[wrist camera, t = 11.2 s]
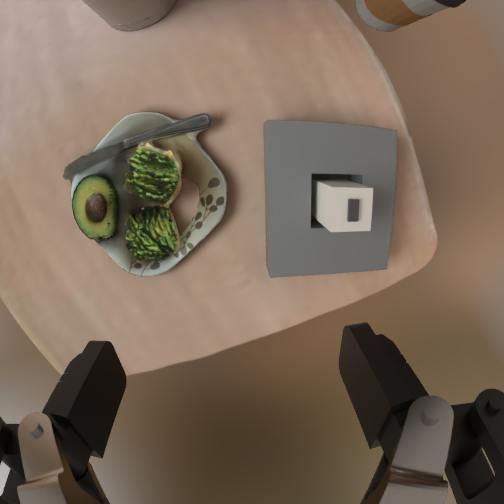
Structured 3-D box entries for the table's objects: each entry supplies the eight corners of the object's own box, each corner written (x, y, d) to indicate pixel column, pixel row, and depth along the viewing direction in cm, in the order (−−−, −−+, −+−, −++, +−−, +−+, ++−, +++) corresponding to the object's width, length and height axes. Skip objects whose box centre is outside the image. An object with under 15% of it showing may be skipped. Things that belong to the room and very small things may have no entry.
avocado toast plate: (166, 69, 25) (155, 57, 21) (269, 185, 30) (274, 190, 26) (58, 186, 28) (37, 192, 24) (147, 287, 34) (137, 306, 29)
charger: (311, 179, 29) (333, 187, 23) (345, 179, 30) (374, 188, 23) (310, 214, 31) (331, 233, 24) (343, 214, 31) (371, 231, 24)
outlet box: (263, 123, 28) (267, 120, 24) (381, 131, 28) (396, 130, 25) (266, 264, 33) (269, 277, 30) (374, 258, 34) (386, 269, 30)
